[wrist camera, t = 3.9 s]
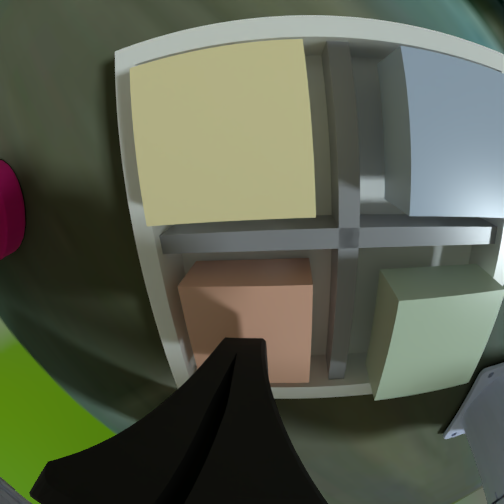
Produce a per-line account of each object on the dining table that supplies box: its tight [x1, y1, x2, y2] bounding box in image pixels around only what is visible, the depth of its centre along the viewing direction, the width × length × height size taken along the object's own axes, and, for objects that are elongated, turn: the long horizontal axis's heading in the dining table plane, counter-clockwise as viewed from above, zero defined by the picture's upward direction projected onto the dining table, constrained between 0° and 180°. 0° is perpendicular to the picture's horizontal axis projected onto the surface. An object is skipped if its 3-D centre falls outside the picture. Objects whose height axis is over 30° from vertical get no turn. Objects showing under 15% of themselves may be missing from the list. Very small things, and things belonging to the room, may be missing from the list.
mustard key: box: [130, 39, 316, 226], centre depth 7 cm, size 4×4×2 cm
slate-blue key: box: [377, 46, 504, 218], centre depth 6 cm, size 4×4×2 cm
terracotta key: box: [177, 258, 313, 383], centre depth 11 cm, size 4×4×2 cm
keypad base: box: [115, 15, 504, 399], centre depth 10 cm, size 14×14×2 cm
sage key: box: [365, 264, 504, 401], centre depth 9 cm, size 4×4×2 cm
